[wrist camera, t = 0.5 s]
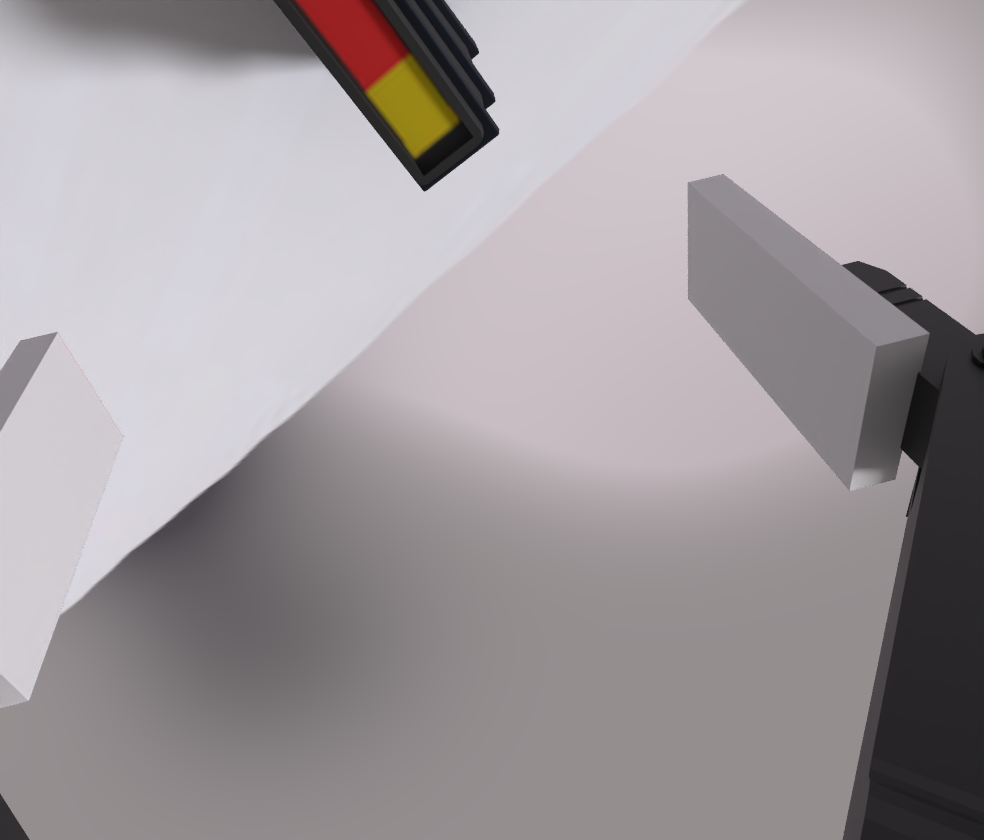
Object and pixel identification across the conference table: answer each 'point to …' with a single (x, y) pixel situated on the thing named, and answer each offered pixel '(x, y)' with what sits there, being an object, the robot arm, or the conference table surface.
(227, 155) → the conference table surface
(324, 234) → the conference table surface
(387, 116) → the magazine
